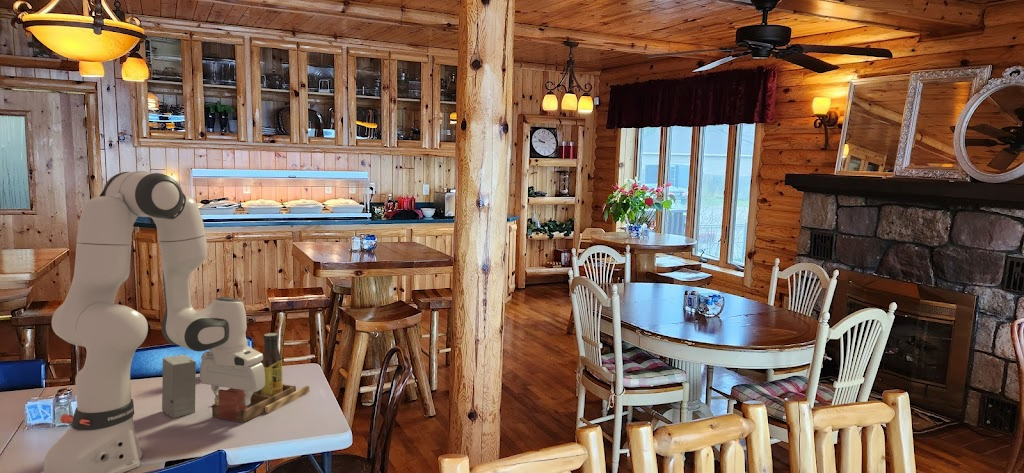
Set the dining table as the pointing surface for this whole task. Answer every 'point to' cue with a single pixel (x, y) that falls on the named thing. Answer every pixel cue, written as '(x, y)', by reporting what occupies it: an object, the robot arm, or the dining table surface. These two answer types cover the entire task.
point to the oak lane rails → (283, 399)
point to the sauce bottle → (272, 366)
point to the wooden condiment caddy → (236, 411)
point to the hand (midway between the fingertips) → (232, 402)
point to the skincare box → (178, 385)
